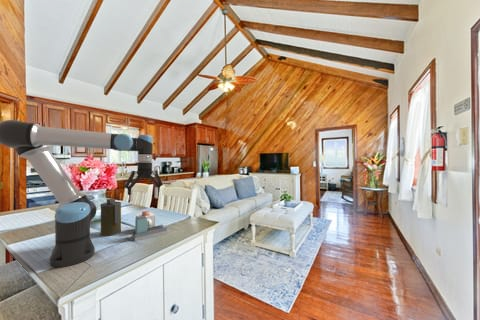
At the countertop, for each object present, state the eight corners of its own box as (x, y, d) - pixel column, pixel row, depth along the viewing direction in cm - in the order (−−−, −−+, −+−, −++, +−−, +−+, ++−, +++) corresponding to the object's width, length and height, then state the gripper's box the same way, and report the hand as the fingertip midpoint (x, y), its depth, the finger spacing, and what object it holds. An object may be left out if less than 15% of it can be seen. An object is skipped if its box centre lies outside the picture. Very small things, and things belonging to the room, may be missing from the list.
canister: (96, 234, 114) (96, 199, 114) (115, 228, 123) (114, 196, 123) (107, 237, 109) (107, 201, 109) (125, 231, 118) (125, 198, 118)
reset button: (143, 219, 119) (143, 212, 119) (141, 218, 122) (141, 211, 122) (149, 218, 122) (149, 211, 122) (147, 217, 124) (147, 210, 124)
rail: (134, 240, 105) (134, 234, 105) (131, 236, 110) (131, 231, 110) (166, 233, 116) (166, 227, 116) (162, 229, 121) (162, 224, 121)
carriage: (137, 236, 107) (137, 218, 107) (135, 233, 110) (135, 216, 110) (147, 234, 110) (147, 217, 110) (145, 231, 114) (144, 215, 113)
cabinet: (139, 233, 115) (139, 218, 115) (135, 229, 122) (135, 214, 122) (155, 229, 121) (155, 215, 121) (151, 226, 128) (151, 212, 128)
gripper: (122, 161, 101) (121, 203, 100) (169, 162, 118) (168, 197, 118) (118, 161, 106) (117, 201, 106) (163, 162, 124) (162, 196, 124)
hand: (144, 199), depth 112 cm, fingers open, 13 cm apart
